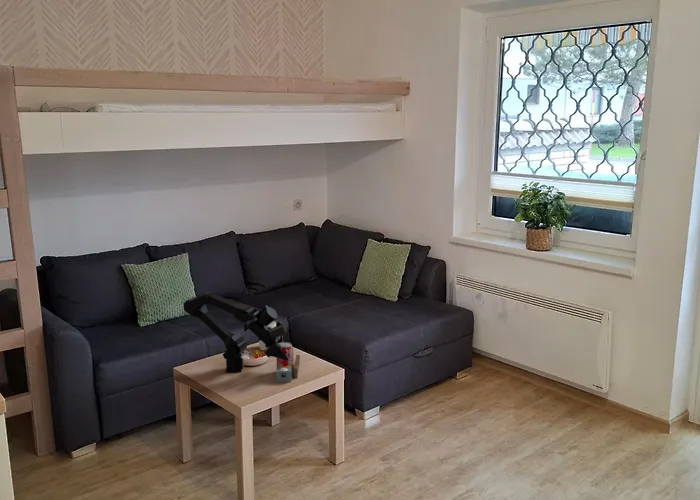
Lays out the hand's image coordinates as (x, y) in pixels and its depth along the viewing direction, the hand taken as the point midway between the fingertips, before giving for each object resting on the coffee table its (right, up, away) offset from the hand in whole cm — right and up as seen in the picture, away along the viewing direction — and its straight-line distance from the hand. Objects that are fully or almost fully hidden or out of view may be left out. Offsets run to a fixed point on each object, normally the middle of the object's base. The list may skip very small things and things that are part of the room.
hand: (288, 356), depth 273 cm
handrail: (+3, -7, +4) cm, 8 cm away
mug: (-12, -2, +28) cm, 31 cm away
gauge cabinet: (-1, -9, -6) cm, 11 cm away
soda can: (-1, -7, +1) cm, 7 cm away
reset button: (-1, -7, -4) cm, 8 cm away
